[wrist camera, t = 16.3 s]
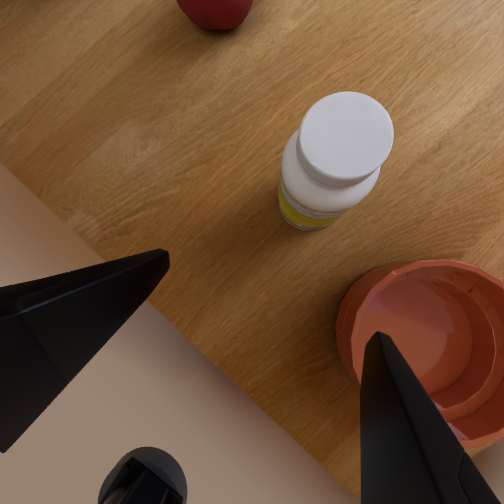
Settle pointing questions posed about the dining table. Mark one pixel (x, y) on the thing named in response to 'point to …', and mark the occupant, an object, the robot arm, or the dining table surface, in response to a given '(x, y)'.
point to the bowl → (435, 337)
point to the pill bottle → (333, 159)
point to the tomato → (216, 12)
